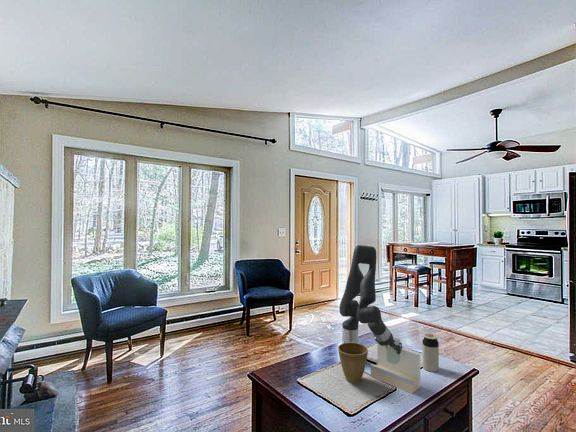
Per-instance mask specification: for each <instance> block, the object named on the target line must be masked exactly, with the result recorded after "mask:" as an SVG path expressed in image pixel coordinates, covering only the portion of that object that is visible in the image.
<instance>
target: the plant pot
mask: <svg viewBox="0 0 576 432" xmlns="http://www.w3.org/2000/svg"><path fill="white" fill-rule="evenodd" d="M337 351H338V358H339V361H340V366H341V368H342V372H343V374H344V377H345V380H346V381H347V382H349V383H351V384H358V383H360V382H361V381H362V378H363V375H364V372H365V369H366V364H367V360H368V359H367V358H368V352H369V348H368V347H367V346H366V345H365V344H361V343H359V342H358V343H343V344H342V343H341V344H339V345H338V348H337Z"/></svg>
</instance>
